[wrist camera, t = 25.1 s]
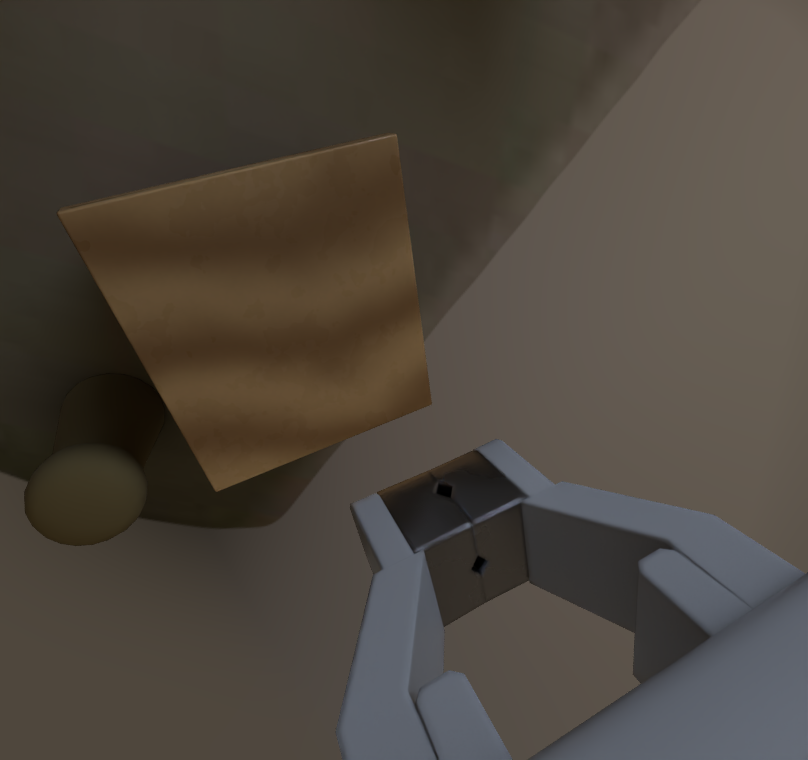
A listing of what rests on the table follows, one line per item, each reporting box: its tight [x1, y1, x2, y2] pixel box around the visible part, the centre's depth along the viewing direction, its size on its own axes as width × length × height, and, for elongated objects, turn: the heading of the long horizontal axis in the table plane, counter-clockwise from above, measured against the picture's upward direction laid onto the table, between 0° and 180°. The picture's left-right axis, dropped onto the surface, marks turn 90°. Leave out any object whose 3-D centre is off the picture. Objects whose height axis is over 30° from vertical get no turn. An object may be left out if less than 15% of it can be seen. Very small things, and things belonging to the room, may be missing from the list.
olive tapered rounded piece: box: [24, 374, 165, 546], centre depth 27 cm, size 6×6×11 cm
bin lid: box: [57, 133, 432, 492], centre depth 23 cm, size 15×13×1 cm
